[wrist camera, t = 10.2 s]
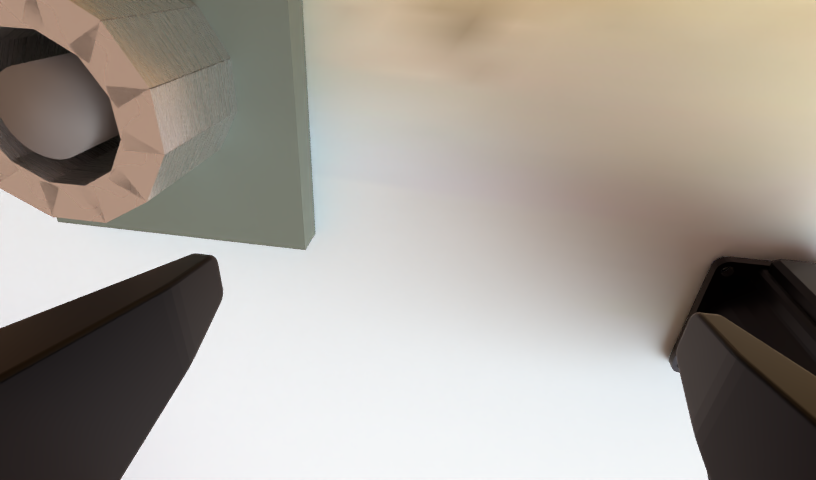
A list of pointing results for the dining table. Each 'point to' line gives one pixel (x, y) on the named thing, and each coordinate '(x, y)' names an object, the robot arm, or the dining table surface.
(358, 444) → the dining table surface
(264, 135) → the post stand
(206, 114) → the tan faceted hollow ring
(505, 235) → the dining table surface
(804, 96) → the dining table surface
